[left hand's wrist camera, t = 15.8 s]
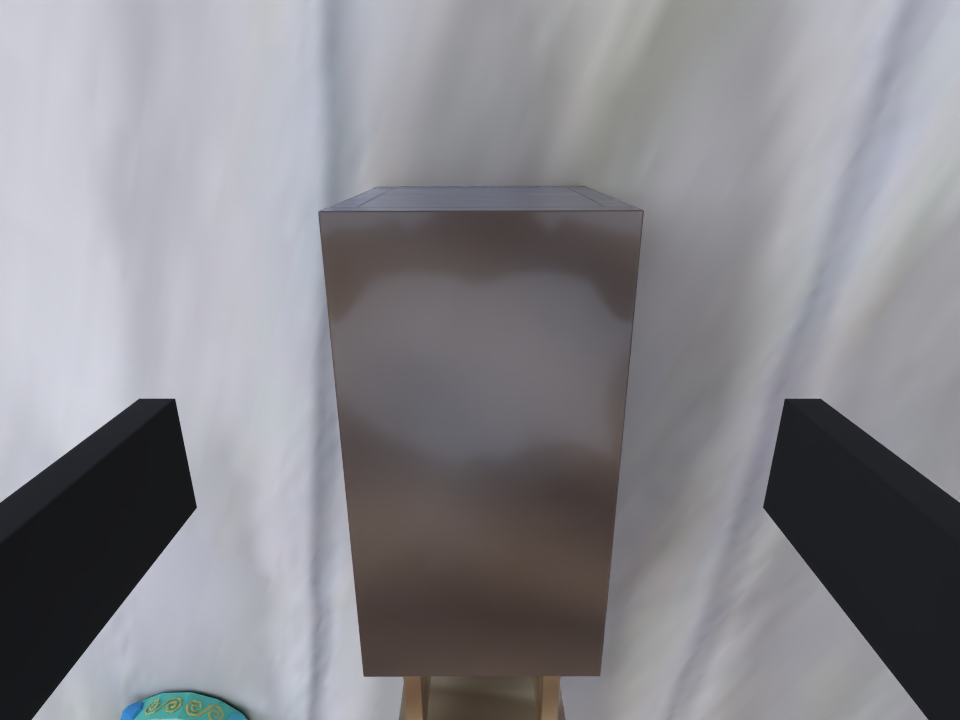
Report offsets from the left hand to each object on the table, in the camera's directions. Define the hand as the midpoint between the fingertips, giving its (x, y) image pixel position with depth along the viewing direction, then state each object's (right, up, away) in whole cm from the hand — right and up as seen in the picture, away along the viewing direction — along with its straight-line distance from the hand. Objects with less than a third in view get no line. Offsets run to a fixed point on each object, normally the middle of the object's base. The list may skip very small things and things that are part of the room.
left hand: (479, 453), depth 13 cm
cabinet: (0, +1, +19) cm, 19 cm away
